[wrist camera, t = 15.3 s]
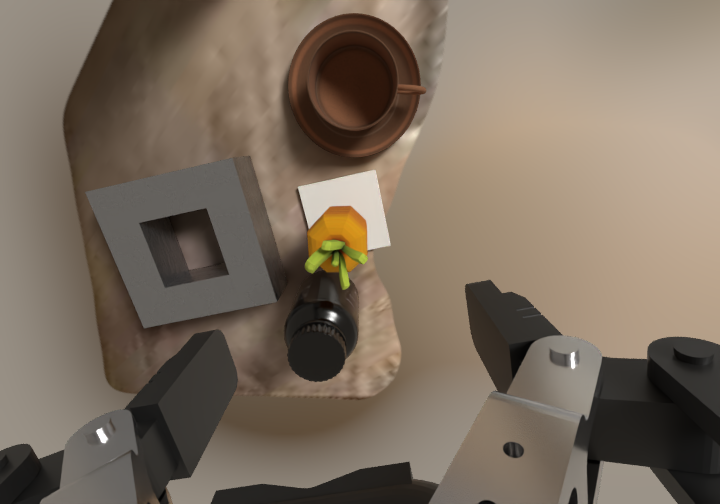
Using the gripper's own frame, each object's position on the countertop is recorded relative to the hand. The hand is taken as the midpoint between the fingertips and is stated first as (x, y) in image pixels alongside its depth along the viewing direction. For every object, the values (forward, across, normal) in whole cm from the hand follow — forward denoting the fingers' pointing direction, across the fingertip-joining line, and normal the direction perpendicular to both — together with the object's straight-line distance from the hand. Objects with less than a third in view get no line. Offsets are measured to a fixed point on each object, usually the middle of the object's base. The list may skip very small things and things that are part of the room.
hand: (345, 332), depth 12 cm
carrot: (+27, +2, +2) cm, 27 cm away
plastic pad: (+27, +2, +2) cm, 27 cm away
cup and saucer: (+28, -2, -10) cm, 29 cm away
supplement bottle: (+27, +6, +10) cm, 30 cm away
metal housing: (+27, +17, +1) cm, 32 cm away
